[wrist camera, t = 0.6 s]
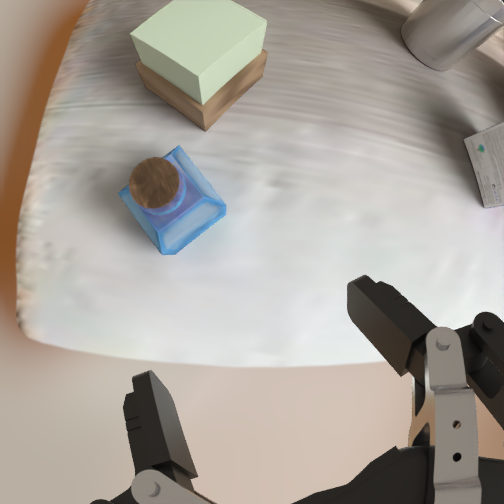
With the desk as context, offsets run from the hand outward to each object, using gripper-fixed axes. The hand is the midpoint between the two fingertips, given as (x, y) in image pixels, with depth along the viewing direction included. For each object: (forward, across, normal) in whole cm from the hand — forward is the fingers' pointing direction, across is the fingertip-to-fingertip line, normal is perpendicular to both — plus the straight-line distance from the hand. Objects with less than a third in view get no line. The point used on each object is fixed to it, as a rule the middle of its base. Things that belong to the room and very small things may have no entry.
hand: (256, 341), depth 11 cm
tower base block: (+28, -7, -7) cm, 29 cm away
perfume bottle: (+21, 0, +4) cm, 21 cm away
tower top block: (+23, -6, -10) cm, 26 cm away
